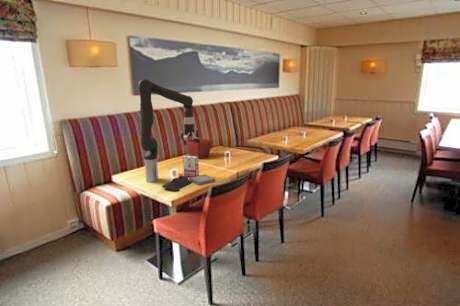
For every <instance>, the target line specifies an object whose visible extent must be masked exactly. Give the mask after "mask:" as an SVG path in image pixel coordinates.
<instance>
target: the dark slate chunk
mask: <svg viewBox="0 0 460 306" xmlns="http://www.w3.org/2000/svg"><path fill="white" fill-rule="evenodd" d="M192 183H193V182H191V181H189V177H185V176H184V175H182V174H181V175H179V176H178V177H175V178H172V180H171V181H169V182H167V183H164V184H163V185H161V187H162V188H163V189H167V190H170V191H173V192H177V191H179V190H182V189H183V188H185V187H187V186H189V185H191V184H192Z"/></svg>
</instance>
